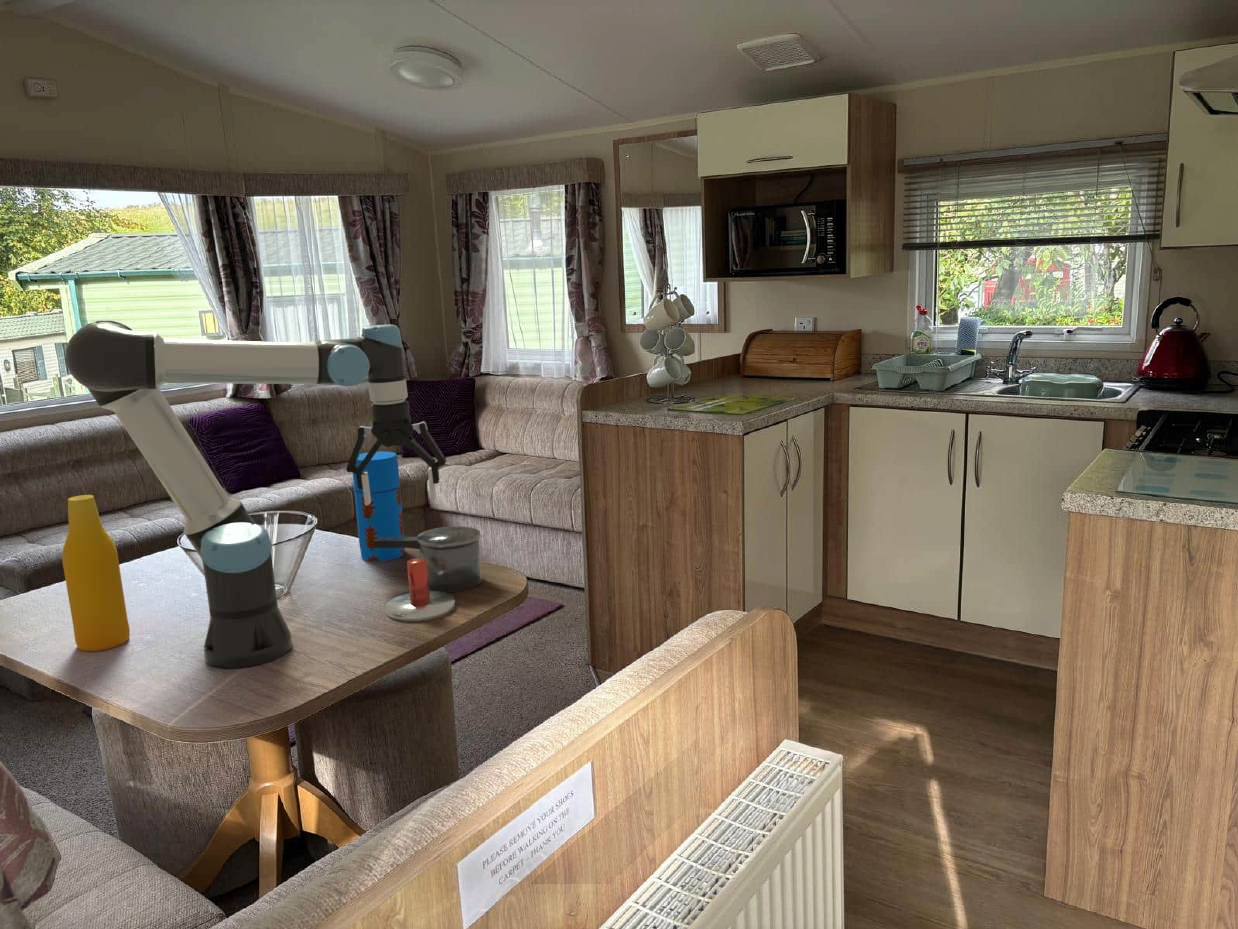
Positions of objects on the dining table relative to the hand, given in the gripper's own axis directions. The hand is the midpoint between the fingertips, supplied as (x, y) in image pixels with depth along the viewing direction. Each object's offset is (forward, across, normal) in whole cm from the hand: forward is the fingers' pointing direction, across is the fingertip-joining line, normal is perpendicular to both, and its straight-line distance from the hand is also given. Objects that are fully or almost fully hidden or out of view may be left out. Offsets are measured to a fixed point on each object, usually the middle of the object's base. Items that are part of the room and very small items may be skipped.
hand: (400, 501), depth 194 cm
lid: (+22, -3, +8) cm, 23 cm away
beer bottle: (+20, +57, +16) cm, 62 cm away
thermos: (+22, +12, -32) cm, 40 cm away
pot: (+21, -3, -9) cm, 23 cm away
